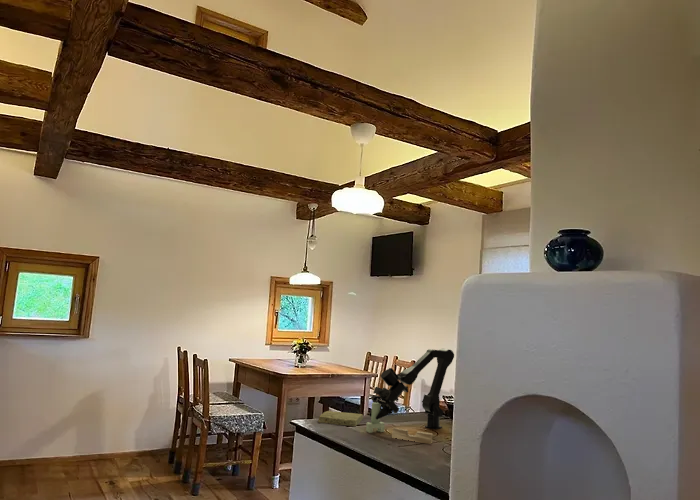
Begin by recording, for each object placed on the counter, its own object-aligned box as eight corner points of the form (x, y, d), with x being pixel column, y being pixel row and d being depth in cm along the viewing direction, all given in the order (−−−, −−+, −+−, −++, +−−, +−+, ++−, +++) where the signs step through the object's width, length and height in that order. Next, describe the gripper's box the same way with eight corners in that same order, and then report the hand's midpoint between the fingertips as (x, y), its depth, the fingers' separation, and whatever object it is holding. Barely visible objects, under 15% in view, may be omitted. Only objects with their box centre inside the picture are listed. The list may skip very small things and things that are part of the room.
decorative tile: (325, 416, 282) (325, 409, 283) (363, 419, 278) (363, 412, 279) (316, 424, 264) (316, 416, 265) (356, 427, 260) (356, 419, 260)
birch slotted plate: (394, 436, 242) (394, 427, 243) (432, 442, 234) (432, 433, 235) (392, 437, 240) (392, 428, 240) (430, 444, 232) (430, 434, 232)
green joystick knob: (380, 430, 255) (381, 402, 256) (384, 431, 251) (385, 403, 252) (365, 431, 251) (366, 402, 252) (369, 433, 248) (370, 404, 249)
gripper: (374, 378, 263) (354, 401, 258) (393, 383, 247) (371, 409, 241) (388, 393, 266) (367, 417, 260) (408, 400, 249) (386, 426, 243)
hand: (373, 417), depth 251 cm, fingers open, 6 cm apart
